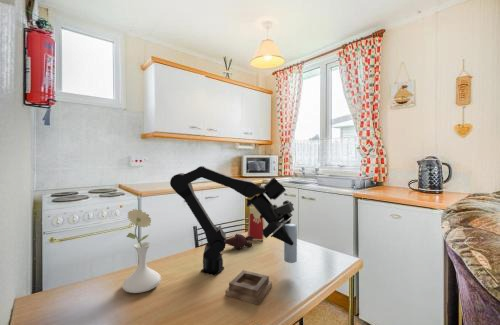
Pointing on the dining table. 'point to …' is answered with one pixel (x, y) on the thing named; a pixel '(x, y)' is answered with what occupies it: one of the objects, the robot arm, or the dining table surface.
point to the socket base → (249, 287)
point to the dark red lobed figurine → (239, 241)
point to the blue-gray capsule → (289, 250)
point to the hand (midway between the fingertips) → (294, 242)
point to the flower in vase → (140, 259)
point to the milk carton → (255, 224)
